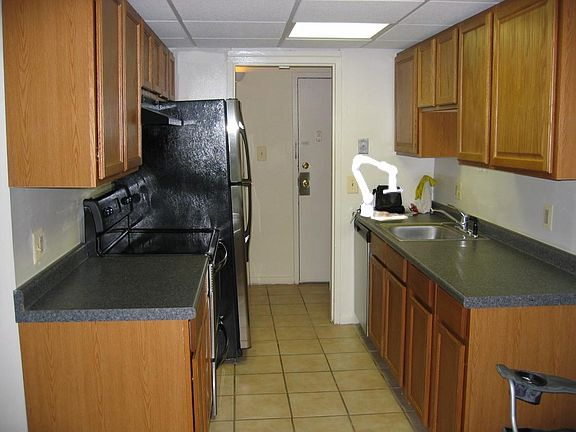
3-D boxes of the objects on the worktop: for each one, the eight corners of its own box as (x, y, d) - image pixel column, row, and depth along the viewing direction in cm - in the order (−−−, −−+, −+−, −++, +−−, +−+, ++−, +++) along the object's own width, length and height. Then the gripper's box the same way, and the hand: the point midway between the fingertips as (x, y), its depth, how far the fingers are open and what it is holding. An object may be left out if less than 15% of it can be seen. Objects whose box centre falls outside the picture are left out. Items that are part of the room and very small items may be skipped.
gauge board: (370, 218, 439) (370, 211, 439) (397, 215, 448) (397, 208, 447) (380, 220, 428) (380, 213, 427) (408, 218, 436) (408, 211, 435)
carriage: (380, 216, 440) (380, 212, 440) (384, 215, 441) (384, 211, 441) (388, 218, 431) (388, 213, 430) (392, 217, 432) (392, 213, 432)
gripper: (387, 184, 439) (387, 204, 441) (404, 183, 444) (404, 202, 446) (381, 183, 445) (381, 202, 447) (399, 182, 451) (399, 201, 453)
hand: (392, 202), depth 447 cm, fingers closed
